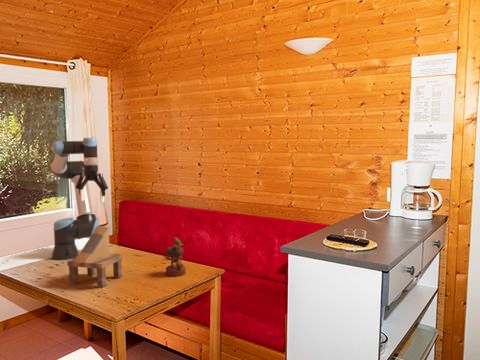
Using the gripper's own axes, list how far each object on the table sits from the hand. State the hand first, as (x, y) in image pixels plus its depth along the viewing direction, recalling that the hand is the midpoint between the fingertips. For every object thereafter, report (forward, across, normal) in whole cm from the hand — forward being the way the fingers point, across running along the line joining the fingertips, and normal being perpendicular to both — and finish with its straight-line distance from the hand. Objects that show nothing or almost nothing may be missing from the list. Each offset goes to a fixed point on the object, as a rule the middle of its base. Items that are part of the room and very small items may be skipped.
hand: (92, 201), depth 242 cm
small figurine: (+36, +55, -6) cm, 66 cm away
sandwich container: (+24, +20, -29) cm, 42 cm away
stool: (+36, +21, -27) cm, 50 cm away
